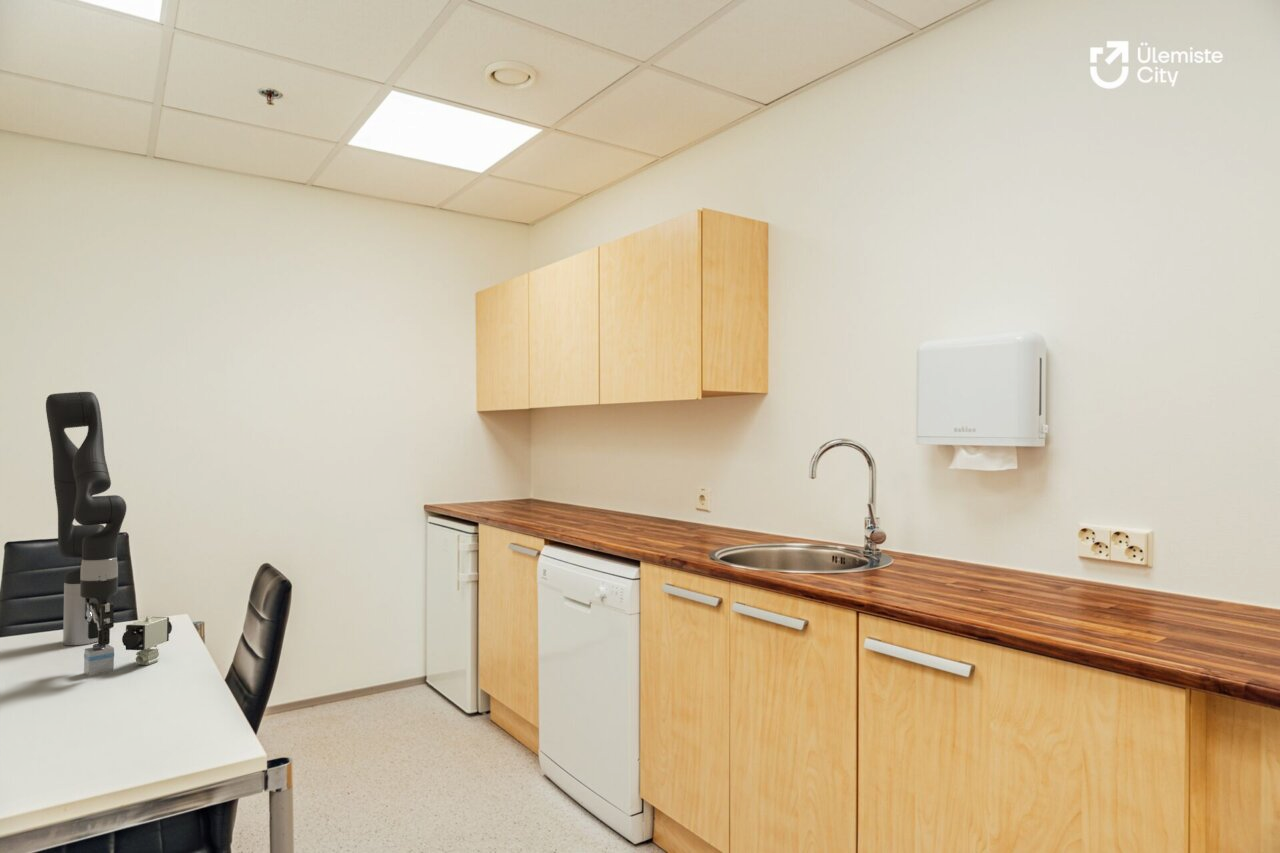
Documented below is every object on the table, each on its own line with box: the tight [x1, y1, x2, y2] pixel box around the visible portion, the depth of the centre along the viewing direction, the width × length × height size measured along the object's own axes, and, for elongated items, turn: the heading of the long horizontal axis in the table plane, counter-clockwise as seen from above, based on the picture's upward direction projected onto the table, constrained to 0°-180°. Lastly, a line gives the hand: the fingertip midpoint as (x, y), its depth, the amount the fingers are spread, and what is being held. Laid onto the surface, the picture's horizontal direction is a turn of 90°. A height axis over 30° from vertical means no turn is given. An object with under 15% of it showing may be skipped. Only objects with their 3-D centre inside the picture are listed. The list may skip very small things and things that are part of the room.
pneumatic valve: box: [121, 616, 173, 666], centre depth 190 cm, size 6×12×12 cm, turn 174°
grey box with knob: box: [83, 643, 115, 678], centre depth 182 cm, size 5×5×7 cm
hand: (98, 641), depth 182 cm, fingers open, 8 cm apart
